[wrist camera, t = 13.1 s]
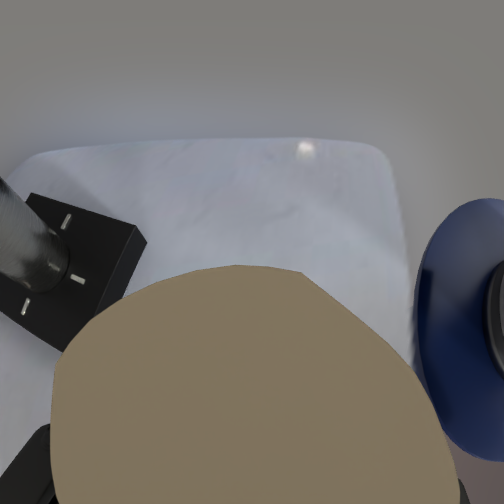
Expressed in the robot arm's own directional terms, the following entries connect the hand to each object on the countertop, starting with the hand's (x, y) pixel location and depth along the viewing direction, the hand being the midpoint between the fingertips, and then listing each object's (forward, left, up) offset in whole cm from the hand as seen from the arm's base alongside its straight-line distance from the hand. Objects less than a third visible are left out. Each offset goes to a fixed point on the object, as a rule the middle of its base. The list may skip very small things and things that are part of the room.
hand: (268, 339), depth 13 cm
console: (+18, 0, -10) cm, 21 cm away
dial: (+18, 0, -7) cm, 20 cm away
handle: (-1, +4, -5) cm, 7 cm away
